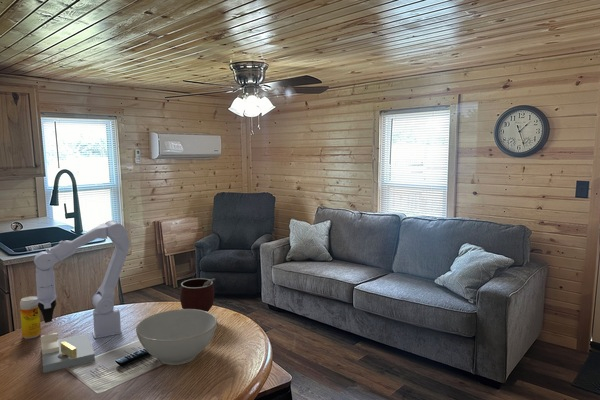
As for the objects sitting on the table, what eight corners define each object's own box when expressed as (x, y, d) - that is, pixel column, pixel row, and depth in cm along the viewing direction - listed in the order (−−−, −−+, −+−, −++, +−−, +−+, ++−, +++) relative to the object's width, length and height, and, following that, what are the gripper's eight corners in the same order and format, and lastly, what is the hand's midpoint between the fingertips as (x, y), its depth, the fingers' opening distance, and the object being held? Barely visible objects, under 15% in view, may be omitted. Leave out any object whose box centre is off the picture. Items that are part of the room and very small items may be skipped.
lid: (57, 341, 150) (57, 332, 150) (59, 351, 143) (58, 341, 143) (41, 345, 147) (40, 335, 147) (42, 354, 140) (41, 344, 140)
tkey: (77, 360, 137) (76, 347, 136) (71, 362, 135) (71, 349, 135) (66, 352, 142) (65, 340, 141) (60, 354, 140) (59, 342, 140)
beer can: (32, 340, 157) (29, 301, 155) (18, 338, 158) (15, 300, 156) (44, 333, 163) (42, 296, 161) (31, 331, 164) (29, 295, 162)
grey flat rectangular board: (88, 339, 158) (88, 333, 157) (94, 360, 142) (94, 353, 142) (41, 349, 150) (41, 342, 149) (43, 373, 134) (42, 365, 134)
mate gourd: (173, 326, 170) (172, 278, 168) (193, 314, 183) (192, 270, 181) (206, 332, 165) (205, 283, 163) (224, 319, 178) (223, 273, 176)
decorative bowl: (119, 367, 138) (117, 332, 136) (172, 334, 163) (171, 304, 161) (186, 384, 128) (185, 346, 127) (231, 346, 153) (231, 315, 151)
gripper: (32, 281, 154) (34, 317, 155) (32, 292, 141) (35, 331, 143) (54, 278, 157) (56, 313, 159) (56, 289, 145) (59, 326, 147)
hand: (48, 321), depth 151 cm, fingers closed
